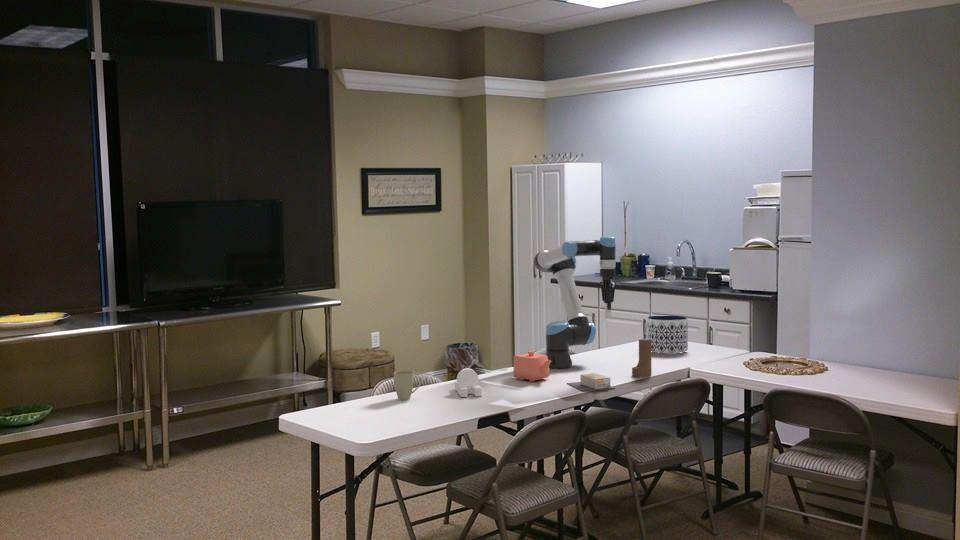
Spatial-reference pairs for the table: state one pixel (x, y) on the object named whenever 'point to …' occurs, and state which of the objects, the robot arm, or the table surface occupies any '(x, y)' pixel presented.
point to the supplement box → (595, 381)
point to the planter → (668, 333)
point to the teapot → (531, 366)
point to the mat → (586, 387)
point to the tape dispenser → (468, 383)
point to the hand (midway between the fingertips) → (608, 316)
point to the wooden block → (643, 359)
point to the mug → (404, 384)
